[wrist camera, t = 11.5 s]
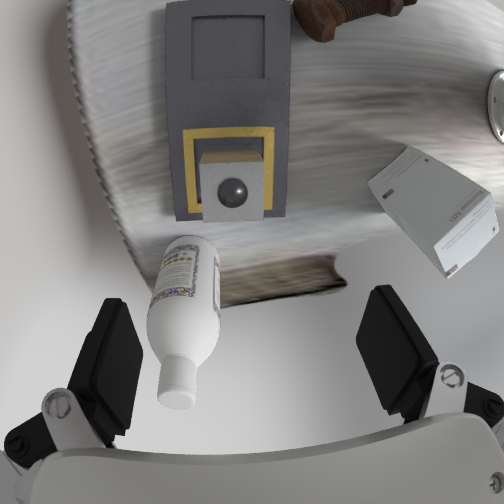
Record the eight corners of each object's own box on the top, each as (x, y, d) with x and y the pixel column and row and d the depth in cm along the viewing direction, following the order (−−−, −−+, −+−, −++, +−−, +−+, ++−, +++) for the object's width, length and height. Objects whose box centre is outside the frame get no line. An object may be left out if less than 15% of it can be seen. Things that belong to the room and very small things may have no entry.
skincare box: (408, 144, 31) (493, 185, 18) (427, 179, 33) (503, 229, 21) (362, 185, 33) (433, 245, 20) (384, 217, 36) (449, 284, 23)
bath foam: (154, 261, 36) (116, 399, 19) (186, 222, 34) (158, 362, 17) (197, 289, 39) (189, 427, 22) (230, 255, 37) (241, 398, 19)
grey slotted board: (286, 5, 22) (290, 0, 20) (281, 210, 34) (285, 217, 32) (169, 7, 21) (166, 2, 19) (178, 214, 33) (176, 222, 31)
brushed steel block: (253, 144, 29) (265, 162, 22) (253, 189, 31) (263, 221, 24) (205, 145, 28) (198, 164, 21) (207, 191, 31) (203, 224, 24)
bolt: (396, 3, 22) (300, 33, 25) (389, -29, 18) (284, -4, 20) (430, 17, 19) (329, 48, 22) (425, -19, 15) (315, 4, 17)
